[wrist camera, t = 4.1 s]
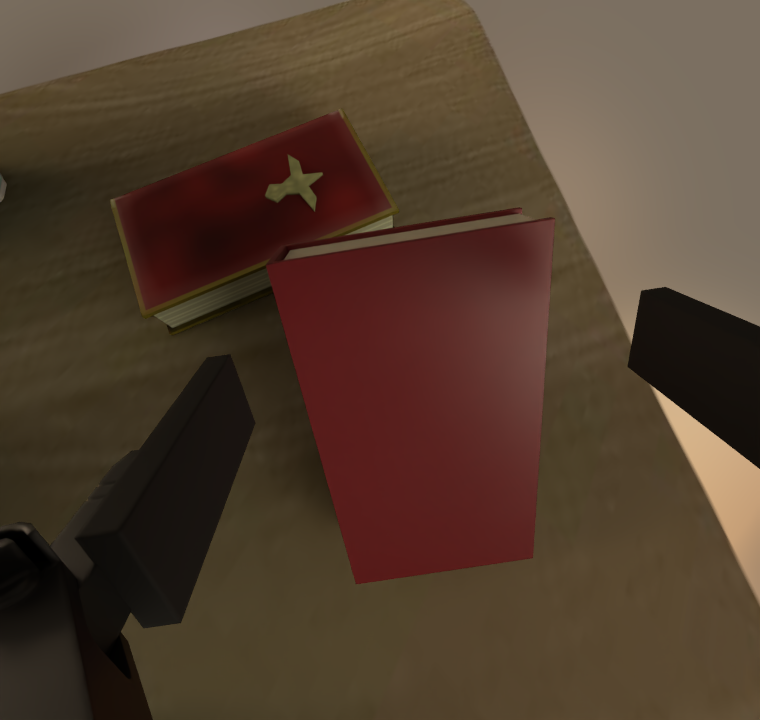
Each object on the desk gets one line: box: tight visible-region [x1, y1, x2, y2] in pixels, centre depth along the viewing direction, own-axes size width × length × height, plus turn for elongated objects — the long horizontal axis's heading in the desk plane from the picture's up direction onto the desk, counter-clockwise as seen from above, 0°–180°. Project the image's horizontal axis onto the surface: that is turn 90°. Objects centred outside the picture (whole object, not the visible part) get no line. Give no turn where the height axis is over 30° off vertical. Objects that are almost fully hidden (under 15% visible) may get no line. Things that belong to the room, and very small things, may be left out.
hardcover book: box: [110, 109, 399, 335], centre depth 33 cm, size 12×21×4 cm, turn 114°
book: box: [266, 207, 555, 584], centre depth 21 cm, size 20×11×4 cm
